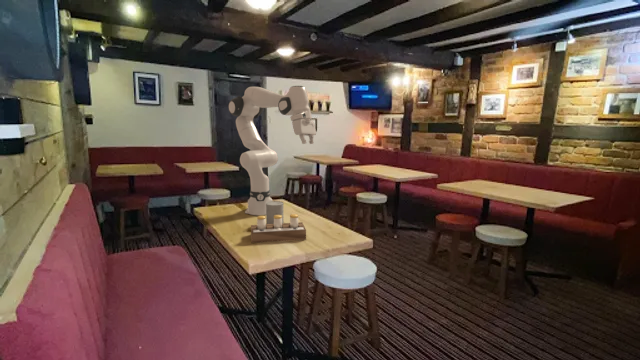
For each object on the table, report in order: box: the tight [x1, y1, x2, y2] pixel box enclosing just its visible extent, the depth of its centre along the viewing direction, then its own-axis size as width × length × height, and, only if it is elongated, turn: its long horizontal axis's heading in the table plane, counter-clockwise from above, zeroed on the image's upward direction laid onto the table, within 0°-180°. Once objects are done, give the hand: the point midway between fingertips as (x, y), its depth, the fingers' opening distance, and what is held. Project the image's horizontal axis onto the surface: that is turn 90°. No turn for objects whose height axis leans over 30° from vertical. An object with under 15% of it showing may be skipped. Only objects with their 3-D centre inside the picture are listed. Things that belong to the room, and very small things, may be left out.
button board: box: [250, 222, 307, 244], centre depth 165 cm, size 12×26×5 cm, turn 102°
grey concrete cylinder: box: [265, 200, 284, 224], centre depth 184 cm, size 10×10×12 cm
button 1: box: [256, 215, 266, 230], centre depth 163 cm, size 4×4×8 cm
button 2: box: [289, 213, 299, 228], centre depth 166 cm, size 4×4×8 cm
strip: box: [253, 227, 304, 233], centre depth 160 cm, size 3×24×1 cm, turn 102°
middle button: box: [274, 215, 282, 229], centre depth 164 cm, size 4×4×8 cm
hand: (308, 143), depth 171 cm, fingers open, 8 cm apart
